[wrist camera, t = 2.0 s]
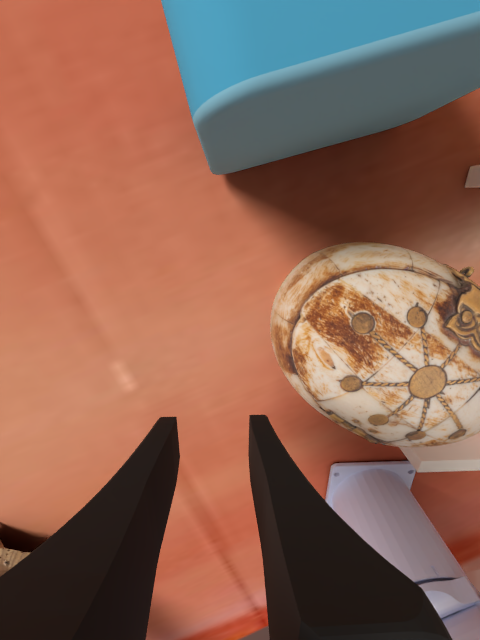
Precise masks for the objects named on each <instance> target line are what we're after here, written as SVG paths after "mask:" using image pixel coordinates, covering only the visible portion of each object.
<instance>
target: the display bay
mask: <svg viewBox="0 0 480 640" xmlns="http://www.w3.org/2000/svg"><path fill="white" fill-rule="evenodd" d="M464 188H480V165H475V166H470V169H469V172H468V176H467V180H466V184H465V187H464ZM399 448H400V449H401V451H402V452H403V453H404V455H405V456H406V457H407V459H408V460H409V462H410V463H411V464H412V466H413V467H414V468H415V470H416V471H417V472H447V471H477V470H480V432H479V433H477V434H475V435H474V436H471V437H469V438H467V439H464V440H462V441H458V442H455V443H451V444H446V445H441V446H432V447H399Z"/></svg>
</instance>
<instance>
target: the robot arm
mask: <svg viewBox="0 0 480 640" xmlns="http://www.w3.org/2000/svg"><path fill="white" fill-rule="evenodd" d="M179 459H180V453H179V442H178V430H177V419H176V417H160V418H159V419H158V421H157V422H156V423H155V425H154V426H153V428H152V429H151V430H150V432H149V433H148V435H147V436H146V437H145V439H144V440H143V441H142V442H141V444H140V445H139V446H138V448H137V449H136V450H135V451H134V453H133V454H132V455H131V456H130V458H129V459H128V460H127V461H126V462H125V464H124V465H123V466H122V467H121V468H120V469H119V470H118V472H117V473H116V474H115V475H114V476H113V477H112V478H111V480H110V481H109V482H108V483H107V484H106V485H105V486H104V487H103V488H102V489H101V490H100V491H99V492H98V493H97V494H96V495H95V496H94V497H93V498H92V499H91V500H90V501H89V502H88V503H87V504H86V505H85V506H84V507H83V508H82V509H81V510H80V511H79V512H78V513H77V514H76V515H75V516H73V517H72V518H71V519H70V520H69V521H68V522H67V523H66V524H65V525H64V526H63V527H61V528H60V529H59V530H58V531H57V532H56V533H54V534H53V535H52V536H51V537H50V538H49V539H47V540H46V541H45V542H44V543H42V544H41V545H40V546H39V547H38V548H36V549H35V550H34V551H33V552H31V553H30V554H29V555H28V556H26V557H25V558H24V559H23V560H21V561H20V562H19V563H18V564H16V565H15V566H14V567H12V568H11V569H10V570H8V571H7V572H6V573H4V574H3V575H2V576H0V640H145V639H146V632H147V626H148V619H149V612H150V606H151V599H152V593H153V587H154V581H155V575H156V568H157V563H158V558H159V553H160V549H161V545H162V540H163V536H164V532H165V528H166V524H167V520H168V516H169V512H170V508H171V504H172V499H173V495H174V491H175V487H176V482H177V475H178V467H179ZM249 468H250V482H251V488H252V494H253V500H254V506H255V512H256V518H257V524H258V530H259V536H260V542H261V549H262V556H263V566H264V577H265V588H266V600H267V612H268V624H269V634H270V640H480V593H479V591H478V590H477V589H476V588H475V587H474V586H473V584H472V583H471V582H470V580H469V579H468V577H467V576H466V574H465V572H464V571H463V569H462V568H461V566H460V565H459V563H458V562H457V560H456V559H455V557H454V556H453V554H452V553H451V551H450V550H449V548H448V547H447V545H446V544H445V542H444V541H443V539H442V538H441V536H440V535H439V533H438V532H437V530H436V529H435V527H434V526H433V524H432V523H431V521H430V520H429V518H428V517H427V515H426V514H425V512H424V511H423V509H422V508H421V506H420V505H419V503H418V502H417V500H416V499H415V497H414V496H413V494H412V493H411V491H410V488H411V485H412V482H413V479H414V476H415V472H416V470H415V468H414V467H413V466H412V464H411V463H410V462H409V461H389V462H357V463H335V464H333V465H332V466H331V469H330V475H329V481H328V487H327V493H326V499H325V500H324V499H323V498H322V497H321V496H320V494H319V493H318V492H317V491H316V490H315V489H314V487H313V486H312V485H311V484H310V482H309V481H308V480H307V479H306V477H305V476H304V475H303V473H302V472H301V471H300V469H299V468H298V467H297V465H296V464H295V463H294V461H293V460H292V458H291V457H290V455H289V454H288V452H287V451H286V449H285V448H284V446H283V445H282V443H281V441H280V440H279V438H278V436H277V435H276V433H275V431H274V429H273V427H272V426H271V424H270V422H269V420H268V417H267V416H266V415H250V420H249Z"/></svg>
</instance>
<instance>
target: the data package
mask: <svg viewBox="0 0 480 640" xmlns="http://www.w3.org/2000/svg"><path fill="white" fill-rule="evenodd" d="M161 2H162V5H163V9H164V13H165V17H166V21H167V24H168V28H169V32H170V36H171V40H172V43H173V47H174V51H175V55H176V59H177V62H178V66H179V70H180V74H181V78H182V81H183V85H184V89H185V93H186V97H187V100H188V104H189V108H190V112H191V116H192V119H193V123H194V126H195V129H196V131H197V134H198V137H199V140H200V142H201V145H202V148H203V151H204V154H205V156H206V159H207V162H208V165H209V167H210V170H211V172H212V173H213V174H216V175H221V174H228V173H232V172H237V171H240V170H244V169H248V168H251V167H255V166H258V165H262V164H266V163H269V162H273V161H276V160H280V159H284V158H287V157H291V156H294V155H298V154H302V153H305V152H309V151H312V150H316V149H320V148H323V147H327V146H331V145H334V144H338V143H341V142H345V141H349V140H352V139H356V138H359V137H363V136H367V135H370V134H374V133H377V132H381V131H384V130H388V129H391V128H394V127H397V126H400V125H403V124H405V123H408V122H411V121H413V120H415V119H418V118H420V117H422V116H424V115H426V114H428V113H430V112H432V111H434V110H436V109H438V108H440V107H442V106H444V105H446V104H448V103H450V102H452V101H454V100H456V99H458V98H460V97H462V96H464V95H466V94H468V93H470V92H472V91H474V90H476V89H478V88H480V0H161Z"/></svg>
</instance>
